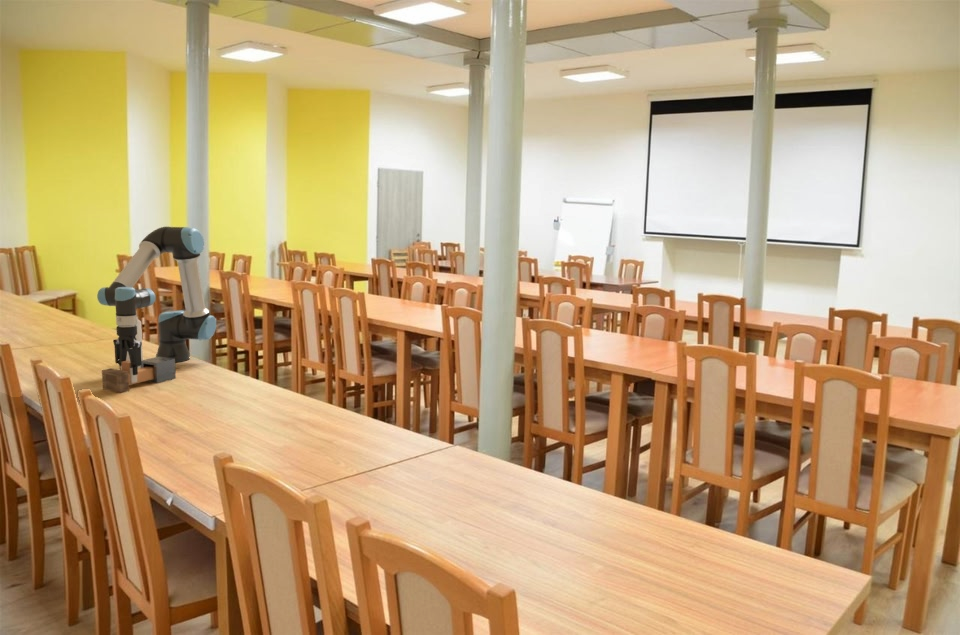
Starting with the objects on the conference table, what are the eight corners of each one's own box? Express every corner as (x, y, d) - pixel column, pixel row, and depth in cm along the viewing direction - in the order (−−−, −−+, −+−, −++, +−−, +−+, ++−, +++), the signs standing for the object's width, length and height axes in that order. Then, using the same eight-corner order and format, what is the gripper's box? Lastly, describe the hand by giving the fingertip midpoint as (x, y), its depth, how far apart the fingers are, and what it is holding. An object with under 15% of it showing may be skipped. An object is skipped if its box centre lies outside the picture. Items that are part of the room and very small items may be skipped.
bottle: (138, 376, 325) (135, 312, 321) (119, 376, 325) (116, 312, 321) (146, 372, 333) (144, 310, 329) (128, 372, 333) (125, 309, 329)
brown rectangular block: (111, 387, 306) (110, 368, 305) (129, 390, 302) (128, 371, 301) (102, 389, 302) (101, 370, 301) (120, 393, 298) (119, 373, 297)
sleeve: (160, 375, 328) (159, 356, 327) (175, 378, 324) (174, 358, 323) (141, 380, 319) (140, 360, 318) (157, 383, 315) (156, 363, 314)
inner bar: (149, 376, 320) (149, 355, 319) (157, 377, 318) (156, 356, 317) (109, 386, 302) (108, 364, 301) (117, 387, 300) (116, 365, 299)
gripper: (103, 324, 304) (106, 381, 308) (134, 329, 297) (137, 386, 301) (118, 322, 311) (121, 377, 315) (150, 326, 304) (152, 382, 308)
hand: (129, 381), depth 308 cm, fingers closed on inner bar, 4 cm apart
